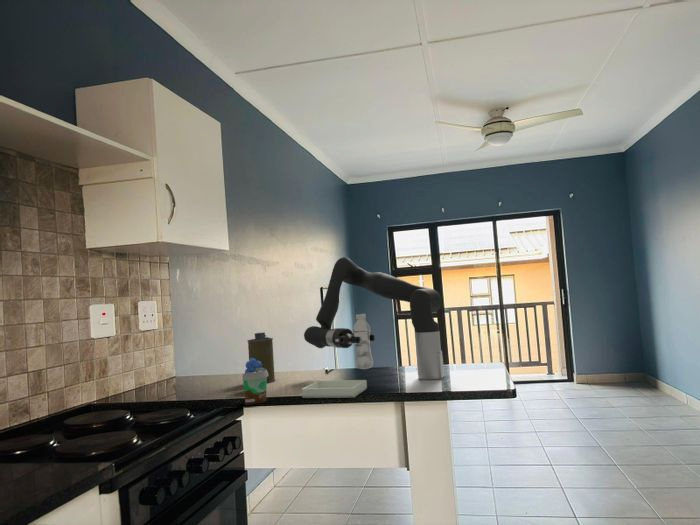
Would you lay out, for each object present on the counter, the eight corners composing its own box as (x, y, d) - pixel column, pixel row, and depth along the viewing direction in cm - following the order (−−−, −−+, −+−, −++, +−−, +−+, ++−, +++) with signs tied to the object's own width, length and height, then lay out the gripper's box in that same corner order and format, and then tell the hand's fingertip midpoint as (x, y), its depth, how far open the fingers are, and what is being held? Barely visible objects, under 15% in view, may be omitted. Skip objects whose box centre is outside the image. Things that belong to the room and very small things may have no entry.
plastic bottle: (376, 367, 189) (372, 313, 190) (367, 370, 183) (363, 314, 185) (361, 367, 192) (357, 313, 194) (352, 370, 187) (348, 315, 188)
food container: (261, 405, 163) (260, 373, 164) (243, 405, 164) (241, 374, 165) (275, 397, 175) (273, 367, 176) (258, 397, 176) (256, 368, 177)
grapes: (237, 391, 192) (235, 359, 193) (252, 388, 197) (250, 356, 198) (256, 393, 184) (254, 360, 185) (271, 390, 189) (269, 357, 190)
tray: (367, 388, 179) (366, 379, 179) (353, 397, 165) (353, 388, 165) (319, 389, 185) (318, 380, 185) (302, 397, 170) (301, 388, 171)
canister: (267, 383, 205) (265, 333, 206) (244, 384, 208) (242, 334, 209) (280, 379, 215) (277, 331, 216) (258, 379, 218) (255, 332, 220)
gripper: (323, 330, 196) (349, 330, 183) (353, 326, 205) (380, 326, 191) (325, 349, 195) (351, 351, 182) (355, 345, 204) (382, 346, 191)
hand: (366, 338), depth 187 cm, fingers closed on plastic bottle, 6 cm apart
